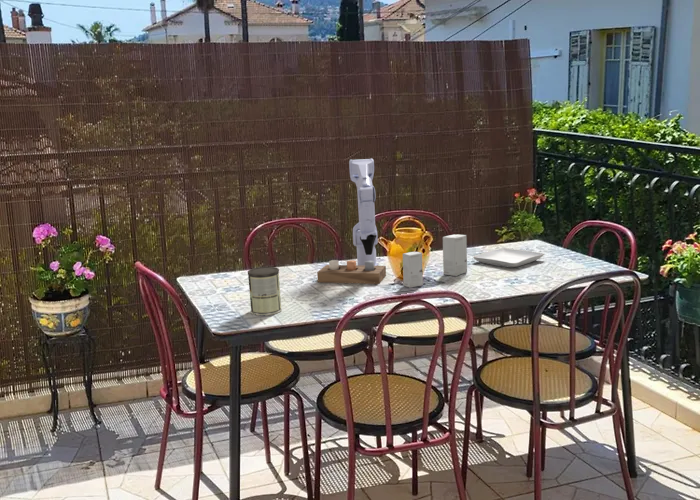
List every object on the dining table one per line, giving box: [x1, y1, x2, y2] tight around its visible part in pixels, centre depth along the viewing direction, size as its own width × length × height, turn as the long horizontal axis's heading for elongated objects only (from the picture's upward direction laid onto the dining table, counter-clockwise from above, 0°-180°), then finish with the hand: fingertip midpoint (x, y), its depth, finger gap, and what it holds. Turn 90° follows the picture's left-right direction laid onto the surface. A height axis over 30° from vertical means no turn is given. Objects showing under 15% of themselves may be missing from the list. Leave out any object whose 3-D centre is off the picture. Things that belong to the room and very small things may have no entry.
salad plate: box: [472, 247, 545, 268], centre depth 293 cm, size 21×21×3 cm
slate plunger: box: [364, 261, 374, 271], centre depth 274 cm, size 4×4×4 cm
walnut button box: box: [316, 264, 387, 285], centre depth 276 cm, size 12×24×4 cm, turn 75°
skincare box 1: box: [402, 251, 424, 289], centre depth 262 cm, size 6×4×12 cm
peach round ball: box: [346, 259, 357, 270], centre depth 276 cm, size 4×4×4 cm
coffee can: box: [247, 266, 282, 316], centre depth 239 cm, size 10×10×14 cm
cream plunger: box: [328, 259, 340, 270], centre depth 278 cm, size 4×4×4 cm
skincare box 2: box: [442, 233, 468, 277], centre depth 276 cm, size 8×6×15 cm
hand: (368, 254), depth 273 cm, fingers closed
